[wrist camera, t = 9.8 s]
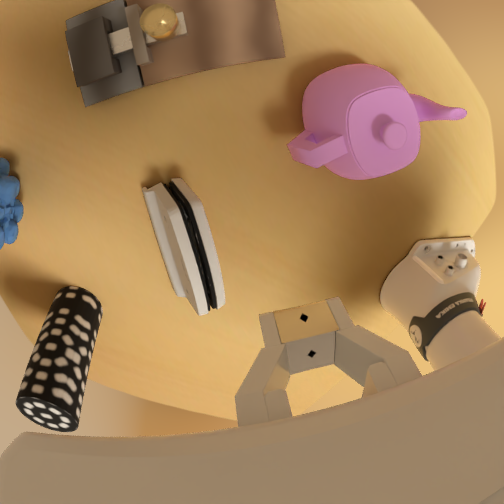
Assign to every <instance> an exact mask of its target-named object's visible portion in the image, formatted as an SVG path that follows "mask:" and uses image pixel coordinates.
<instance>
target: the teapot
mask: <svg viewBox="0 0 504 504" xmlns="http://www.w3.org/2000/svg"><path fill="white" fill-rule="evenodd" d="M302 115H303V123H304V128H305V130H304V131H303V132H302V133H300V134H299V135H298V136H297V137H296V138H294V139H293V140H292V141H291V142H290V143H288V144H287V146H288V148H289V151H290V153H291V155H292V158H293V160H295V161H298V162H300V163H303V164H306V165H309V166H312V167H314V168H319V167H321V166H322V165H324V166H325V167H326V168H328V169H329V170H330V171H332V172H333V173H335V174H337V175H339V176H341V177H344V178H348V179H353V180H365V179H372V178H376V177H380V176H384V175H387V174H390V173H393V172H395V171H397V170H400V169H402V168H404V167H406V166H408V165H409V164H410V163H412V162H413V161H414V160H415V158H416V156H417V154H418V151H419V147H420V124H419V122H421V121H430V120H459V119H462V118H464V117H465V116H466V115H467V111H466V110H465V109H462V108H456V107H447V106H443V105H440V104H437V103H435V102H433V101H431V100H429V99H427V98H425V97H422V96H419V95H415V94H408V92H407V91H406V89H405V88H404V87H403V85H402V84H401V83H400V82H399V81H398V80H397V79H396V78H395V77H394V76H393V75H392V74H390V73H389V72H388V71H386V70H384V69H382V68H380V67H378V66H375V65H371V64H350V65H344V66H340V67H337V68H334V69H331V70H329V71H327V72H324V73H323V74H321V75H319V76H317V77H316V78H315V79H313V80H312V81H311V82H310V83H309V85H308V86H307V88H306V90H305V92H304V96H303V103H302Z"/></svg>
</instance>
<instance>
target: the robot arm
mask: <svg viewBox="0 0 504 504" xmlns="http://www.w3.org/2000/svg"><path fill="white" fill-rule="evenodd" d="M480 275H481V270H480V266H479V263H478V262H477V260H476V259H475V243H474V241H473V239H472V238H471V237H463V238H448V239H432V240H420V241H418V242H417V243H416V244H415V245H414V246H413V248H412V249H411V251H410V252H409V254H408V255H407V256H406V257H405V258H404V259H403V260H402V261H401V262H400V263H399V264H398V265H397V266H396V267H395V268H394V269H393V270H392V271H391V273H390V274H389V275H388V277H387V278H386V280H385V282H384V284H383V287H382V290H381V294H380V302H381V305H382V307H383V309H384V310H385V311H387V312H388V313H390V314H391V315H392V316H394V317H395V318H396V319H397V320H398V321H399V322H400V323H401V324H402V325H403V326H404V327H405V329H406V330H407V331H408V332H409V334H410V337H411V339H412V340H413V342H414V344H415V346H416V347H417V349H418V350H419V352H420V353H421V355H422V356H423V358H424V359H425V360H426V361H429V362H430V364H431V366H432V367H433V369H434V371H433V372H431V373H429V374H426V375H424V376H422V375H421V373H420V371H419V369H418V368H417V366H416V364H415V362H414V361H413V359H412V357H411V356H410V354H409V352H408V351H406V350H404V349H402V348H400V347H399V346H396V345H394V344H393V343H391V342H389V341H387V340H385V339H383V338H382V337H380V336H378V335H376V334H374V333H372V332H370V331H368V330H366V329H365V328H363V327H361V326H359V325H357V326H354V324H353V322H352V320H351V318H350V316H349V314H348V313H347V311H346V309H345V307H344V305H343V303H342V301H341V299H340V298H339V297H334V298H330V299H326V300H323V301H319V302H314V303H310V304H306V305H302V306H298V307H293V308H288V309H283V310H278V311H273V312H269V313H264V314H259V320H260V325H261V329H262V334H263V339H264V344H265V348H261V350H260V352H259V354H258V356H257V358H256V359H255V361H254V363H253V365H252V367H251V369H250V370H249V372H248V374H247V376H246V378H245V379H244V381H243V383H242V385H241V386H240V388H239V390H238V392H237V393H236V395H235V403H236V411H237V420H238V427H235V428H228V429H222V430H214V431H206V432H197V433H186V434H175V435H162V436H161V435H160V436H138V437H90V436H89V437H88V436H69V435H56V434H45V433H36V432H24V433H21V434H20V435H19V436H18V437H17V438H16V439H15V440H14V441H13V442H12V443H11V444H10V445H9V446H8V447H7V449H6V450H5V451H4V452H3V454H2V455H1V458H0V504H504V337H503V338H500V337H499V336H498V335H497V334H496V333H495V331H494V330H493V329H492V328H491V327H490V326H489V325H488V324H487V323H486V321H485V320H484V319H483V318H482V315H483V314H482V312H483V310H484V307H485V304H486V302H485V303H484V305H483V299H482V300H481V303H480V305H479V307H478V304H477V301H476V294H477V291H478V286H479V282H480ZM482 306H483V307H482ZM331 364H335V365H336V366H337V367H338V368H339V369H341V370H342V371H343V372H345V373H346V374H347V375H349V376H350V377H351V378H352V379H354V380H355V381H356V382H358V383H359V384H360V385H362V386H363V387H364V390H363V394H362V398H361V399H357V400H354V401H350V402H347V403H344V404H340V405H337V406H334V407H330V408H326V409H322V410H318V411H314V412H310V413H306V414H302V415H298V416H293V417H292V413H291V409H290V405H289V401H288V397H287V393H286V391H285V389H286V386H287V384H288V381H289V378H290V375H291V374H295V373H299V372H303V371H306V370H310V369H314V368H319V367H323V366H327V365H331Z"/></svg>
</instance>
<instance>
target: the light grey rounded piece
mask: <svg viewBox="0 0 504 504" xmlns="http://www.w3.org/2000/svg"><path fill="white" fill-rule="evenodd" d="M171 180H172V182H170V183H169V184H170V189H171V191H170V189H169V188H168V187H167V185H166V184H164V185H163V184H162V183H161V182H160V183H158V184H156V185H155V186H153V187H151V188H149V189H147V188H146V187H143V188H142V191H143V195H144V198H145V202H146V205H147V209H148V212H149V215H150V219H151V222H152V225H153V229H154V232H155V235H156V238H157V241H158V245H159V248H160V251H161V254H162V257H163V260H164V263H165V266H166V269H167V272H168V275H169V278H170V281H171V283H172V286H173V289H174V291H175V293H176V295H177V296H178V297H186V298H187V299H188V300H189V302H190V304H191V305H192V307H193V308H194V310H195V311H196V313H197V314H198V315H199V316H200V315H204V314H208V311H210V306H211V307H212V308H213V309H214V308H216V309H219V308H220V307H221V306H223V305H224V304H225V292H224V285H223V279H222V274H221V269H220V264H219V260H218V256H217V252H216V248H215V245H214V241H213V237H212V234H211V230H210V227H209V224H208V220H207V217H206V214H205V211H204V208H203V205H202V203H201V201H200V199H199V198H198V197H197V196H196V194H195V193H194V192H193V191H192V190H191V189H190V187H189V186H188V185H187V184H186V183H185V182H184V181H183V179H182V178H172V179H171Z"/></svg>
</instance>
